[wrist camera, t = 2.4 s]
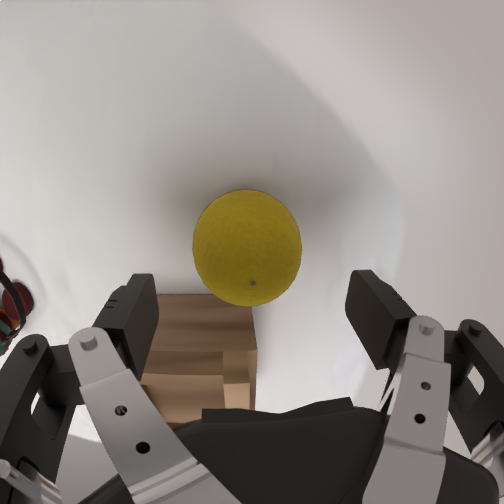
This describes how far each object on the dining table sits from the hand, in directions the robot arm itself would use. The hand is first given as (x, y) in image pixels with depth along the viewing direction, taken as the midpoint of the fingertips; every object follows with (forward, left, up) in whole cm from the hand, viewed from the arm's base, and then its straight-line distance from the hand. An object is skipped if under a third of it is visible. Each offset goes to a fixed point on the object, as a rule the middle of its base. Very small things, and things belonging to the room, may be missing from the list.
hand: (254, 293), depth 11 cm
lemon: (0, 0, -8) cm, 8 cm away
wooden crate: (+10, -4, -8) cm, 13 cm away
